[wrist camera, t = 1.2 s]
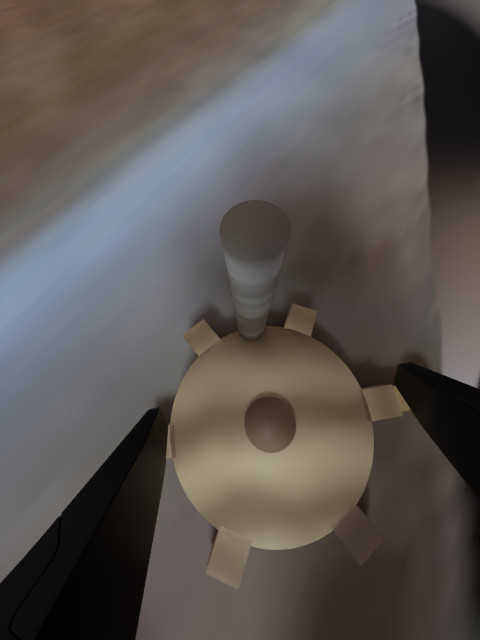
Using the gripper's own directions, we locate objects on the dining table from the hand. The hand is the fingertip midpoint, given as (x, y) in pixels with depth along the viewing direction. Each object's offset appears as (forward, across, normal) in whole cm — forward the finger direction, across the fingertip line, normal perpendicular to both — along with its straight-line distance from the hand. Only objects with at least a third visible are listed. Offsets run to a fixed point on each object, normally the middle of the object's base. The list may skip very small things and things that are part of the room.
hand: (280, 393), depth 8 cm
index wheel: (+7, 0, +11) cm, 13 cm away
